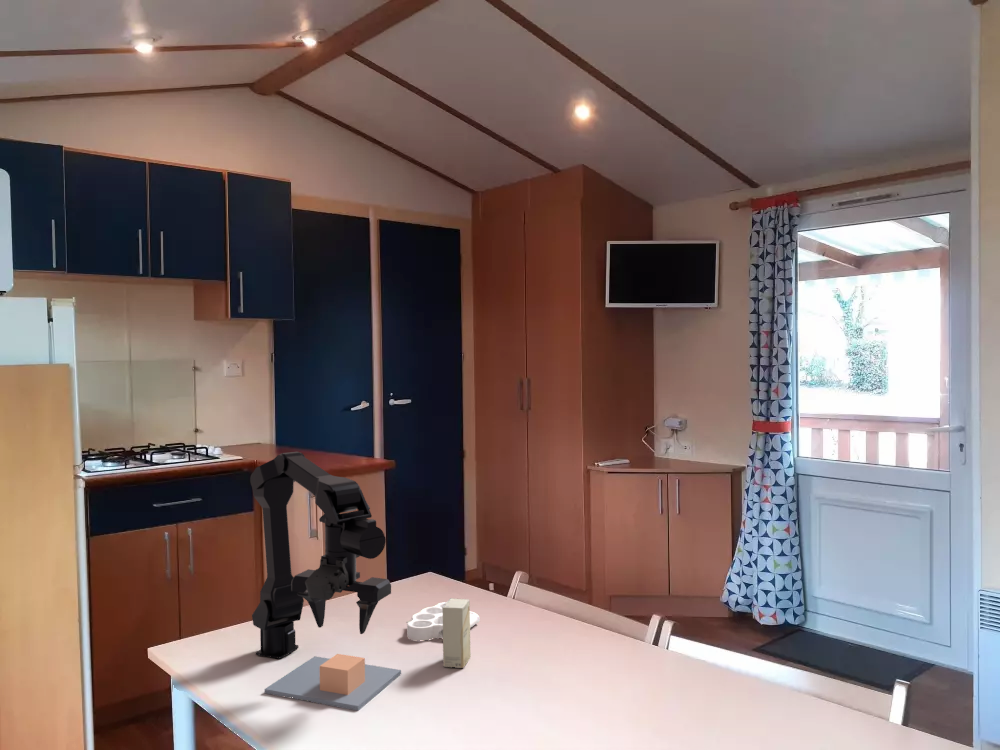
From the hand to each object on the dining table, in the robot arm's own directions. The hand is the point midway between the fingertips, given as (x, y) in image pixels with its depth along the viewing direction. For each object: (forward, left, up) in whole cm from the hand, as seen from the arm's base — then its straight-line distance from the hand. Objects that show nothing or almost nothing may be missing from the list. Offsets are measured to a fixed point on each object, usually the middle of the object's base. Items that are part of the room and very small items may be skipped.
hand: (341, 630), depth 141 cm
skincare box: (+16, +18, -11) cm, 26 cm away
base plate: (-2, +1, -11) cm, 11 cm away
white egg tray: (+5, +34, -11) cm, 36 cm away
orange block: (+1, -1, -10) cm, 10 cm away
